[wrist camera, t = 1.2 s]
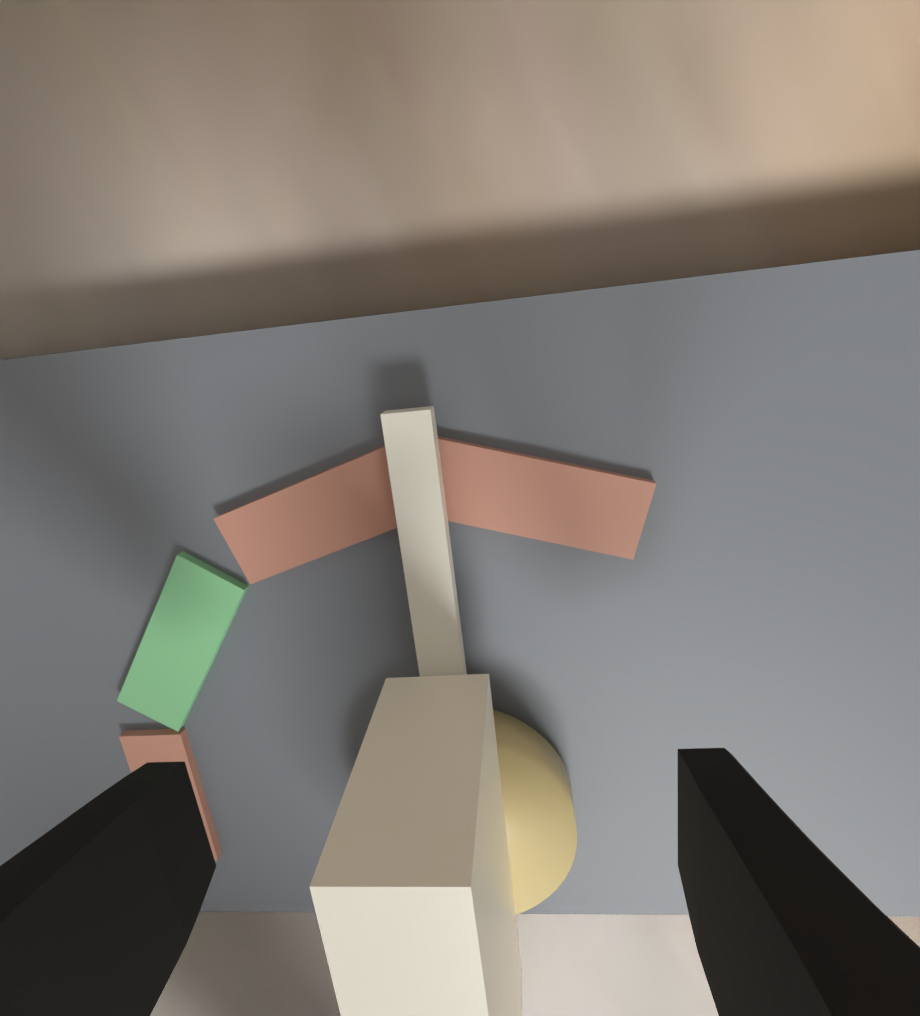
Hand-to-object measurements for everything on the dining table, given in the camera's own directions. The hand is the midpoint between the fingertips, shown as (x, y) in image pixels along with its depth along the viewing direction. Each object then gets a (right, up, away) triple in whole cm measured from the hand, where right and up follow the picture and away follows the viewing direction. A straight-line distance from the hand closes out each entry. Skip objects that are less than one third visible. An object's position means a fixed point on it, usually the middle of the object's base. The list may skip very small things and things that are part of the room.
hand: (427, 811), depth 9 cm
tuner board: (0, +2, +4) cm, 4 cm away
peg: (0, +1, +3) cm, 3 cm away
